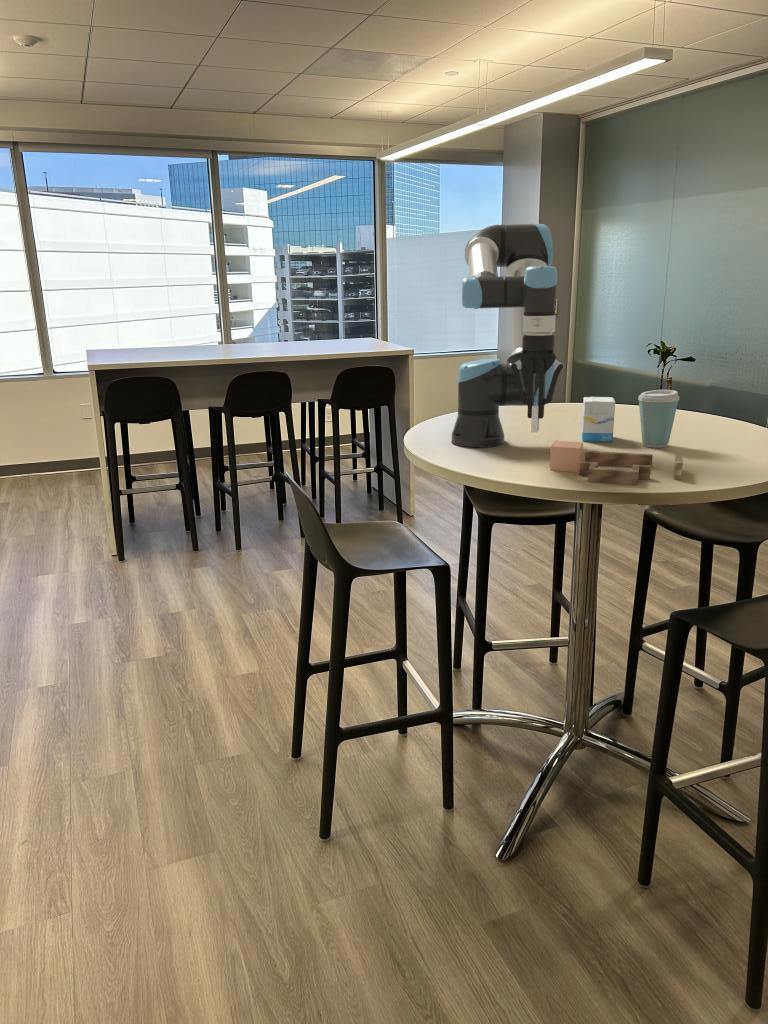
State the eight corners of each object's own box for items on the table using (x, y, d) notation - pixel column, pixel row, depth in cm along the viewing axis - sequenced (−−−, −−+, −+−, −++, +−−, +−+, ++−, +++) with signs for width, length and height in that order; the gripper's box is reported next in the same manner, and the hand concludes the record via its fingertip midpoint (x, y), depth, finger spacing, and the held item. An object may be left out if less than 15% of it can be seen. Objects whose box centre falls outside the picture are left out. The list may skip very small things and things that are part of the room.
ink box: (612, 442, 212) (615, 401, 209) (582, 441, 214) (584, 401, 210) (610, 436, 220) (613, 396, 217) (580, 435, 222) (582, 396, 218)
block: (549, 470, 184) (550, 446, 183) (553, 463, 191) (554, 440, 189) (578, 472, 182) (580, 448, 180) (581, 465, 188) (583, 442, 187)
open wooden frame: (576, 480, 174) (577, 464, 173) (585, 462, 191) (586, 446, 190) (681, 488, 167) (682, 470, 165) (680, 468, 183) (682, 452, 182)
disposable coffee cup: (649, 451, 201) (654, 395, 196) (626, 443, 211) (630, 389, 206) (683, 447, 204) (688, 392, 199) (658, 440, 213) (663, 387, 209)
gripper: (508, 335, 178) (505, 432, 185) (564, 335, 174) (559, 435, 180) (514, 333, 185) (511, 427, 192) (568, 333, 180) (563, 429, 187)
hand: (535, 431), depth 186 cm, fingers closed
